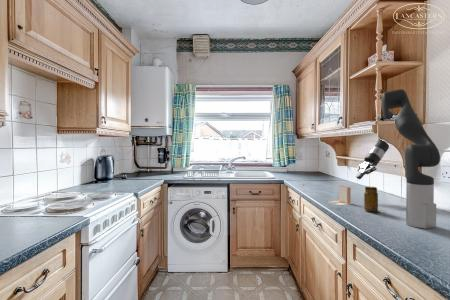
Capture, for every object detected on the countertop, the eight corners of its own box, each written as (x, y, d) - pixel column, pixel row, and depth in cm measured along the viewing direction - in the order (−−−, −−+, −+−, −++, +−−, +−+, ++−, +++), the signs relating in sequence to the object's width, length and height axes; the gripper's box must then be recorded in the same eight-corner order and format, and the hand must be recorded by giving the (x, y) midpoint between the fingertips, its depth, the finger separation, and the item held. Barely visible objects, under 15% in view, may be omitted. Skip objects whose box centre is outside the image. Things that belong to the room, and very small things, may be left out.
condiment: (367, 208, 142) (367, 185, 142) (384, 211, 135) (384, 187, 135) (360, 211, 137) (360, 187, 137) (378, 214, 131) (378, 189, 130)
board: (352, 204, 152) (352, 203, 152) (339, 205, 149) (339, 205, 149) (340, 201, 160) (340, 200, 160) (328, 202, 157) (328, 201, 157)
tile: (350, 203, 153) (350, 187, 152) (347, 203, 152) (347, 187, 152) (341, 200, 159) (341, 185, 159) (338, 201, 158) (338, 185, 158)
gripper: (362, 151, 167) (345, 172, 164) (380, 152, 155) (363, 175, 151) (368, 160, 169) (352, 181, 166) (387, 161, 157) (371, 184, 153)
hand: (358, 178), depth 158 cm, fingers closed
